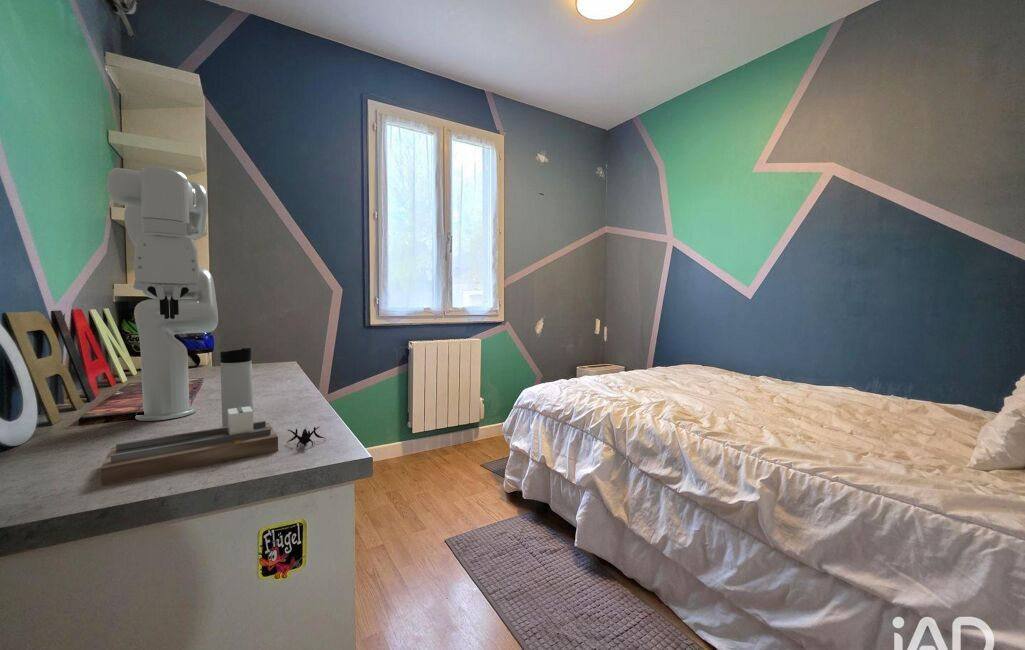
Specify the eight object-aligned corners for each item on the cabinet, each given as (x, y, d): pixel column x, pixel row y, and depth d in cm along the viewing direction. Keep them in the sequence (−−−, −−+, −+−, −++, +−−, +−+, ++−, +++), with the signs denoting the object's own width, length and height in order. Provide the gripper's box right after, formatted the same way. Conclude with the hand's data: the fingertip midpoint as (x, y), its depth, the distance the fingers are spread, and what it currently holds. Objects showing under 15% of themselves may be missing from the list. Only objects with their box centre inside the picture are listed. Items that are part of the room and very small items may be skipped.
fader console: (111, 463, 76) (110, 441, 76) (269, 435, 93) (268, 417, 92) (101, 485, 67) (100, 461, 67) (278, 450, 83) (277, 430, 83)
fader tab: (228, 432, 85) (227, 407, 84) (250, 428, 87) (249, 405, 87) (230, 438, 81) (229, 413, 81) (253, 434, 83) (252, 409, 83)
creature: (288, 446, 89) (282, 450, 82) (288, 421, 90) (282, 424, 83) (326, 442, 92) (324, 446, 85) (326, 418, 93) (324, 420, 86)
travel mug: (239, 434, 94) (236, 349, 92) (215, 431, 95) (213, 348, 94) (260, 426, 100) (258, 346, 99) (238, 424, 101) (236, 345, 100)
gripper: (210, 236, 90) (212, 316, 92) (118, 227, 81) (122, 317, 82) (212, 233, 84) (214, 319, 86) (113, 223, 75) (118, 320, 76)
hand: (169, 318), depth 84 cm, fingers closed
